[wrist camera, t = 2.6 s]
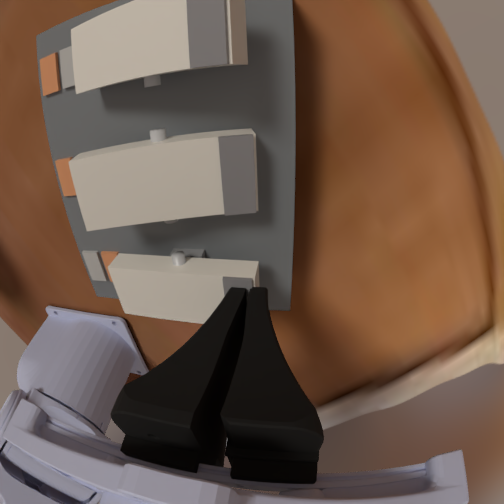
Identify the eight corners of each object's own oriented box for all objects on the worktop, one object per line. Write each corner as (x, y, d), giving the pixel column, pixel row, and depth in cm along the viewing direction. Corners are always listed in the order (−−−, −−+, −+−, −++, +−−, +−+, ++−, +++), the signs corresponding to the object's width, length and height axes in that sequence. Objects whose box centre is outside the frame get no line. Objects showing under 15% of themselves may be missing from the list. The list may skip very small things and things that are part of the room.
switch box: (117, 266, 20) (93, 302, 17) (72, 35, 11) (28, 36, 8) (290, 274, 19) (289, 318, 16) (290, -7, 10) (290, -31, 7)
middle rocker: (97, 226, 12) (88, 241, 11) (77, 144, 10) (64, 152, 9) (254, 207, 13) (259, 221, 12) (250, 118, 11) (255, 123, 10)
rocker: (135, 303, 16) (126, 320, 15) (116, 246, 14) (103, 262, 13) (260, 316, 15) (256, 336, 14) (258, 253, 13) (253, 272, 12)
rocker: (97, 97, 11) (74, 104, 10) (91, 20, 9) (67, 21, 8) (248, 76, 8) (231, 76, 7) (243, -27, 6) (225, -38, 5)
